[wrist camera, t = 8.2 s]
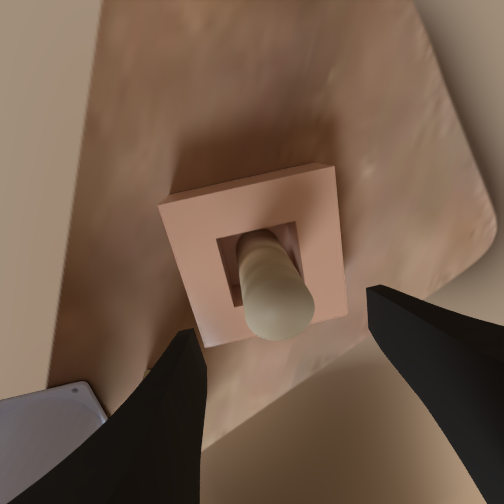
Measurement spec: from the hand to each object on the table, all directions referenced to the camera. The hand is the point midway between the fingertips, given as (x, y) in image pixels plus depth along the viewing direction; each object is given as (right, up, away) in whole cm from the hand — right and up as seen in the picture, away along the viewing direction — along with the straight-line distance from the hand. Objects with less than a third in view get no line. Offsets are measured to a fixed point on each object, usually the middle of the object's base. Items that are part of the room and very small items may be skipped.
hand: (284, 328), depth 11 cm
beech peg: (-1, +3, +9) cm, 9 cm away
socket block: (-1, +4, +9) cm, 10 cm away
